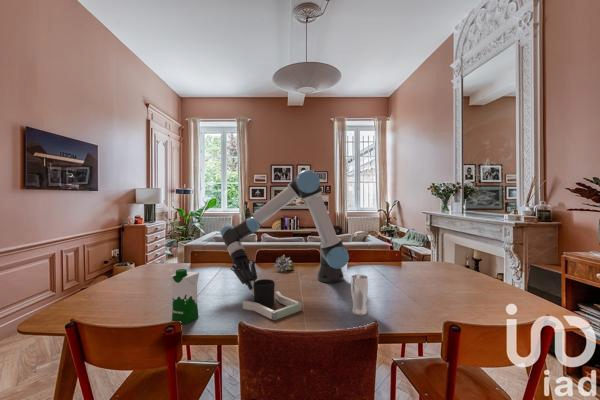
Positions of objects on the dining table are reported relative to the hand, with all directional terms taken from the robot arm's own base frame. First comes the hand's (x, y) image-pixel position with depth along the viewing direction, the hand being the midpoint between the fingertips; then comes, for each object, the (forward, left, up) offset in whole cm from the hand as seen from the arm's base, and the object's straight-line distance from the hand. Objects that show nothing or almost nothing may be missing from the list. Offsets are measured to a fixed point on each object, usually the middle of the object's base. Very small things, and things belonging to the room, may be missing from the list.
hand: (256, 294), depth 133 cm
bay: (-7, +9, -3) cm, 12 cm away
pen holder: (-3, +3, -4) cm, 6 cm away
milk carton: (+28, +14, -4) cm, 31 cm away
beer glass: (-42, +18, -4) cm, 46 cm away
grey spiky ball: (-18, -56, -4) cm, 58 cm away
